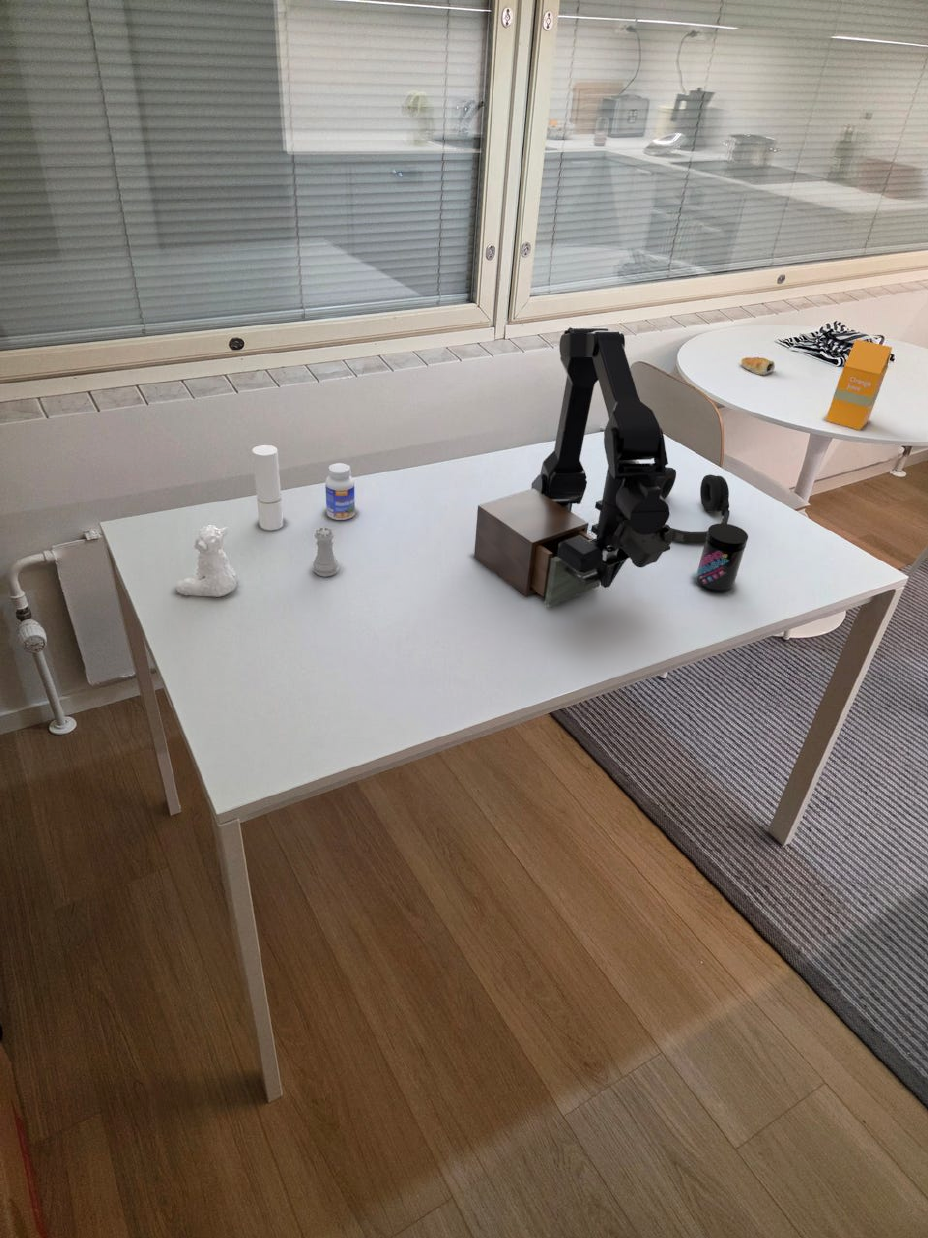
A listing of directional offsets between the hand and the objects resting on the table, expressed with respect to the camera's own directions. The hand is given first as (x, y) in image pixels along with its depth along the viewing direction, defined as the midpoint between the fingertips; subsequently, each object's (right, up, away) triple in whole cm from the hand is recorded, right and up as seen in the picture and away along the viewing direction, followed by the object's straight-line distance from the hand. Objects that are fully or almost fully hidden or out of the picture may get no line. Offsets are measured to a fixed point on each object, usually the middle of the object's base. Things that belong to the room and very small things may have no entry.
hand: (605, 586), depth 133 cm
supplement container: (+22, +1, +14) cm, 26 cm away
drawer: (-6, +1, +10) cm, 12 cm away
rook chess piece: (-46, +3, +11) cm, 48 cm away
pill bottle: (-46, +15, +27) cm, 55 cm away
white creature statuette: (-64, 0, +5) cm, 64 cm away
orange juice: (+76, +46, +81) cm, 120 cm away
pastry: (+62, +67, +108) cm, 142 cm away
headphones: (+21, +15, +33) cm, 41 cm away
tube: (-58, +12, +22) cm, 64 cm away
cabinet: (-11, +4, +15) cm, 20 cm away
